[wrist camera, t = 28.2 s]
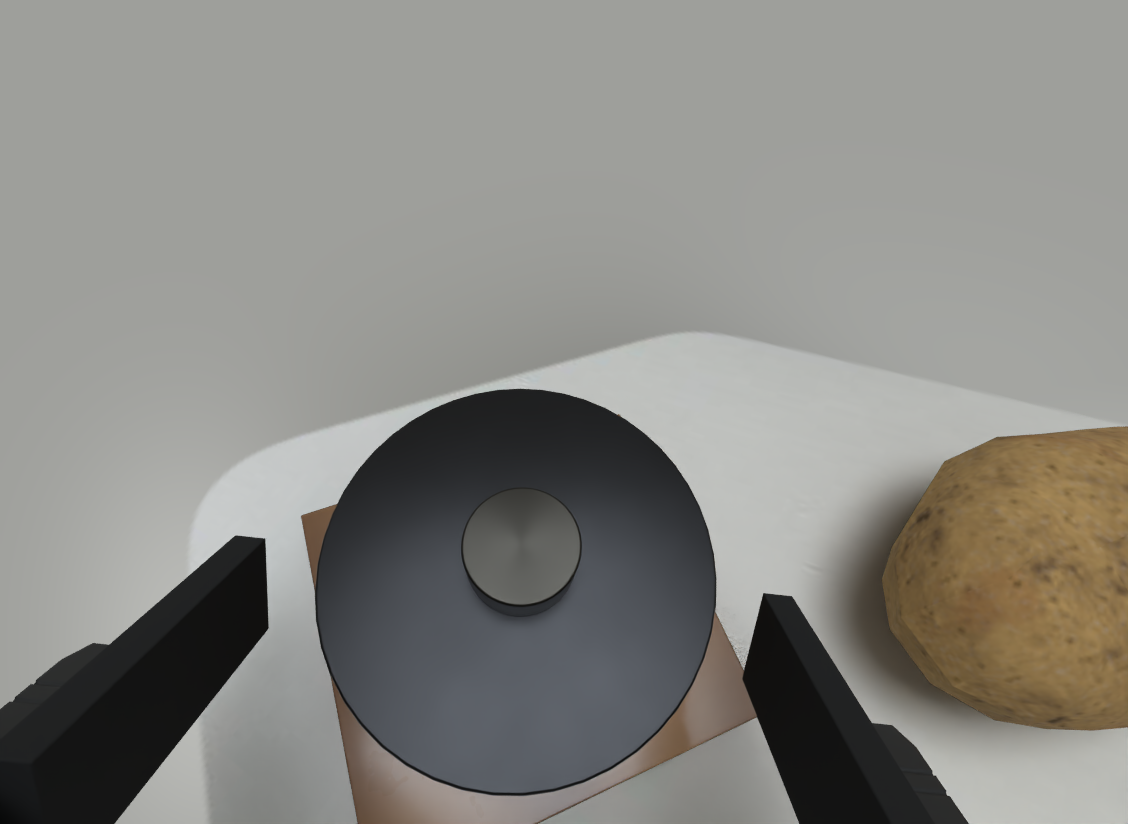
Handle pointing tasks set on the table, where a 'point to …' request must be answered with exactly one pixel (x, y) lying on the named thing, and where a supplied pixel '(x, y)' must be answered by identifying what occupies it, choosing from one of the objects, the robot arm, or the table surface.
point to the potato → (1022, 579)
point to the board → (472, 820)
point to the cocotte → (515, 592)
